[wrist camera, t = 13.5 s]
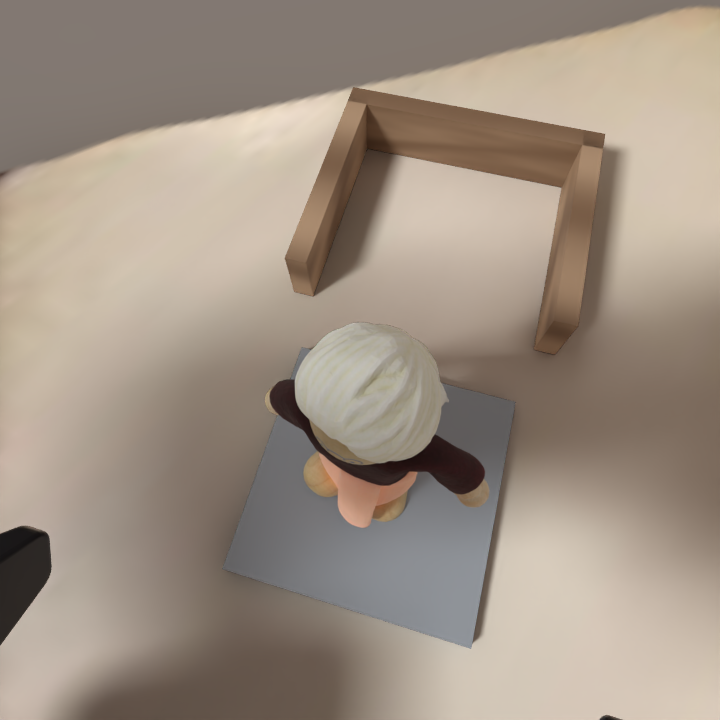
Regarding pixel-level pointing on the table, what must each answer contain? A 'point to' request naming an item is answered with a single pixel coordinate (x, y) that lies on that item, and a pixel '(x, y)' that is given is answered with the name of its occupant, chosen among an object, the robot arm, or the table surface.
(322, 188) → the walnut stall
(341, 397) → the grandmother figurine
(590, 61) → the table surface
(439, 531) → the slate mat
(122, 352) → the table surface
